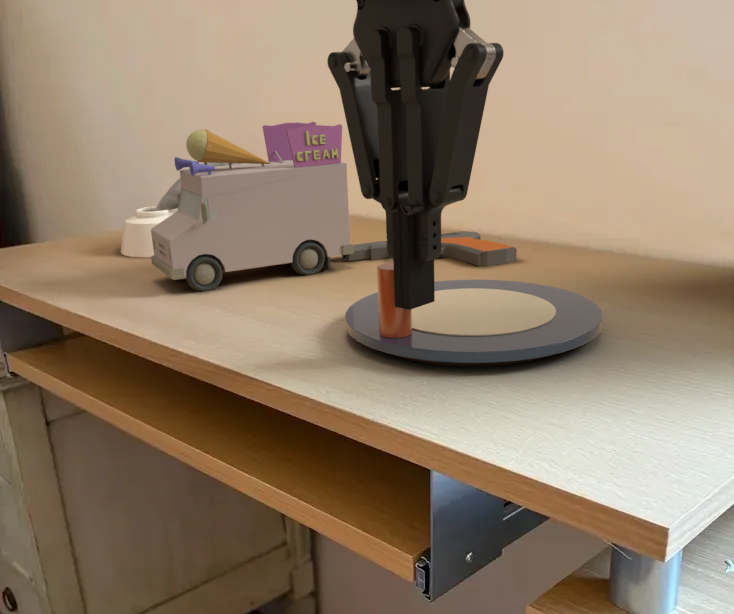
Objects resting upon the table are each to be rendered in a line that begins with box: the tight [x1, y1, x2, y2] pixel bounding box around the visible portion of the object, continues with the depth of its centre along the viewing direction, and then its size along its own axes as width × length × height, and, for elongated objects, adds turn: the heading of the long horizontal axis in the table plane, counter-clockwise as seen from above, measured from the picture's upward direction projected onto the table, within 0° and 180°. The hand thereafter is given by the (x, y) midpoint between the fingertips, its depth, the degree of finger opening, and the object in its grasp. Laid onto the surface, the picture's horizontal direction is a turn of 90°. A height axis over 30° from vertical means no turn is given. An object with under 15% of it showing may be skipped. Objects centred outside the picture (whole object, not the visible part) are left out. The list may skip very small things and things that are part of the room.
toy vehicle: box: [150, 121, 355, 292], centre depth 84 cm, size 9×20×15 cm, turn 117°
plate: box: [344, 261, 604, 363], centre depth 64 cm, size 20×20×6 cm
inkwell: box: [120, 162, 242, 259], centre depth 102 cm, size 9×18×10 cm, turn 129°
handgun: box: [341, 230, 518, 268], centre depth 90 cm, size 2×16×12 cm
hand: (414, 303), depth 58 cm, fingers closed
